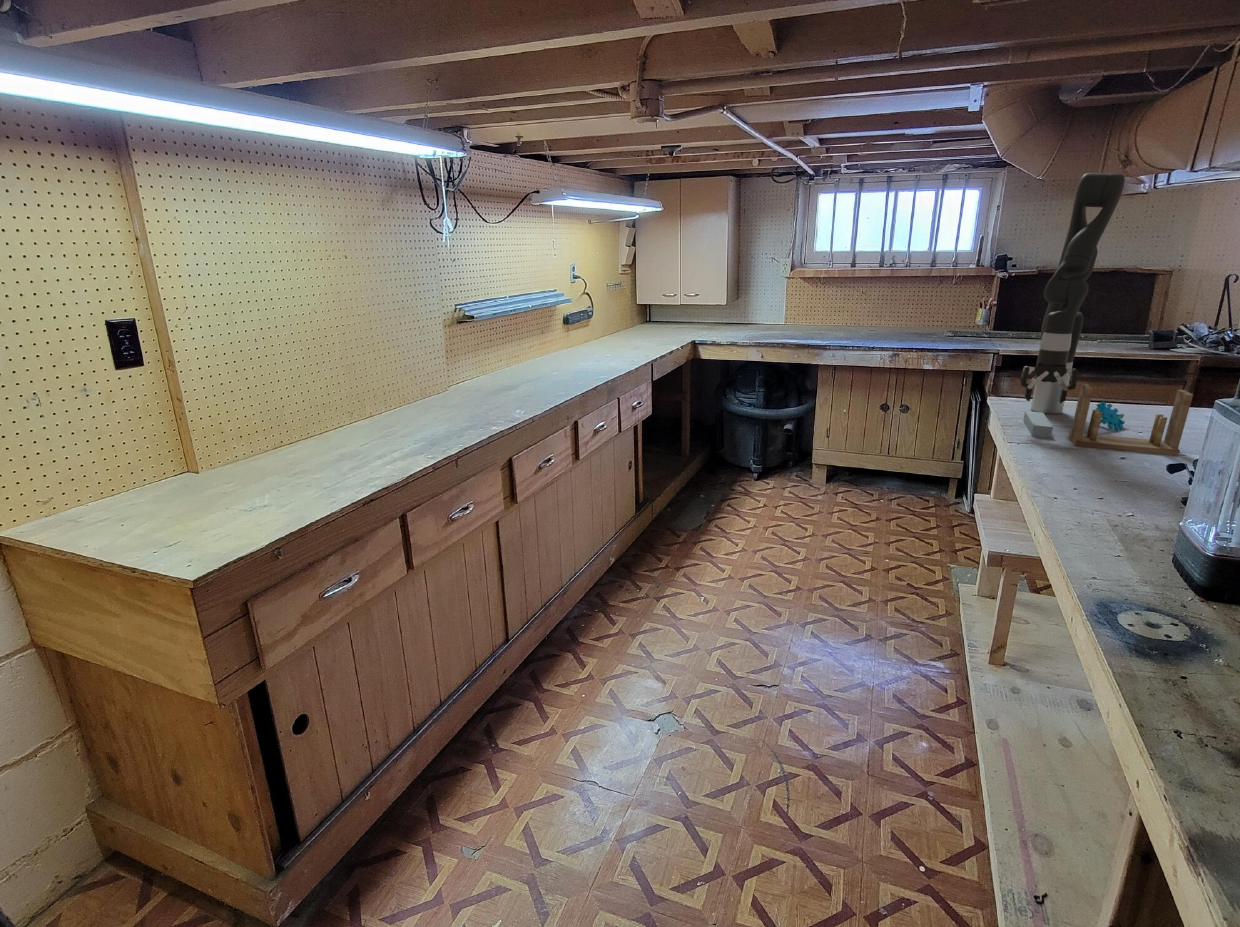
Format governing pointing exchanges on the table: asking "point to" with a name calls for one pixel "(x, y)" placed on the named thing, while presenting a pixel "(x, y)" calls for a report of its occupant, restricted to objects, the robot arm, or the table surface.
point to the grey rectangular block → (1038, 424)
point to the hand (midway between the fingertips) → (1043, 401)
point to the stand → (1131, 444)
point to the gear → (1110, 416)
